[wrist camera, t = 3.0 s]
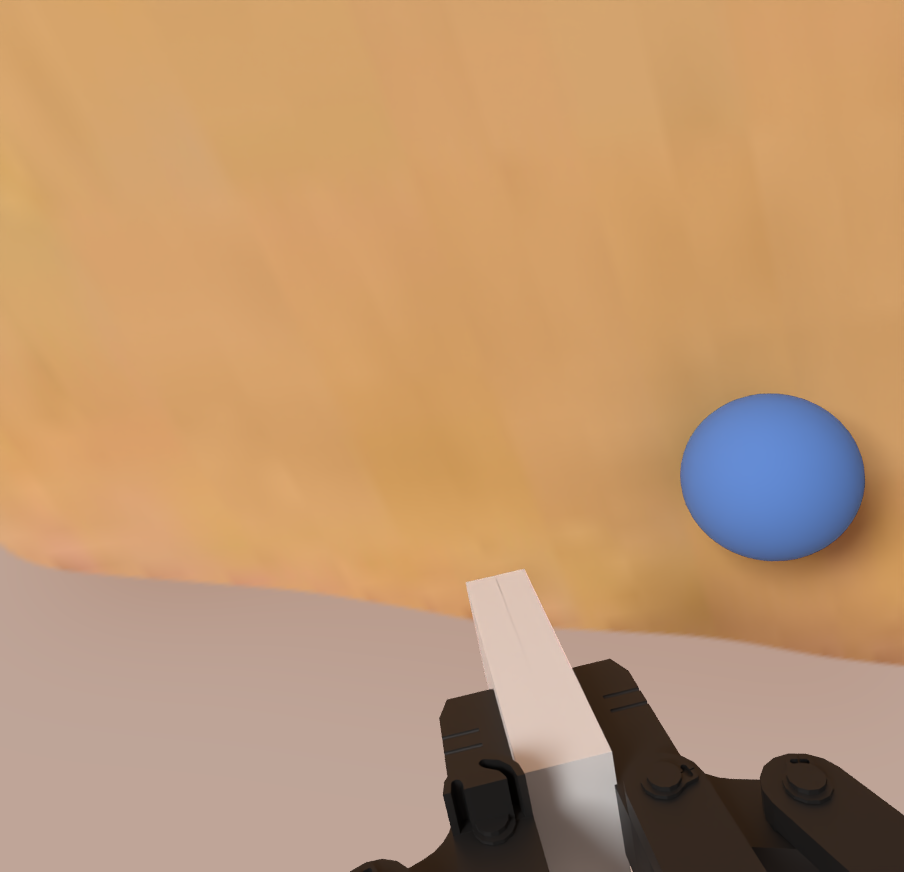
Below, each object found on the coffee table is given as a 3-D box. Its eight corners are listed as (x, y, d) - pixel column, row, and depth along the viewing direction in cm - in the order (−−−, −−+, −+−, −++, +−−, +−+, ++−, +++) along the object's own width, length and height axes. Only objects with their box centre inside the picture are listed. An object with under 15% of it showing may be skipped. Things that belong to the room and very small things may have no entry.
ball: (794, 366, 25) (906, 396, 19) (803, 505, 26) (909, 569, 21) (647, 397, 24) (719, 437, 19) (664, 537, 26) (735, 609, 21)
